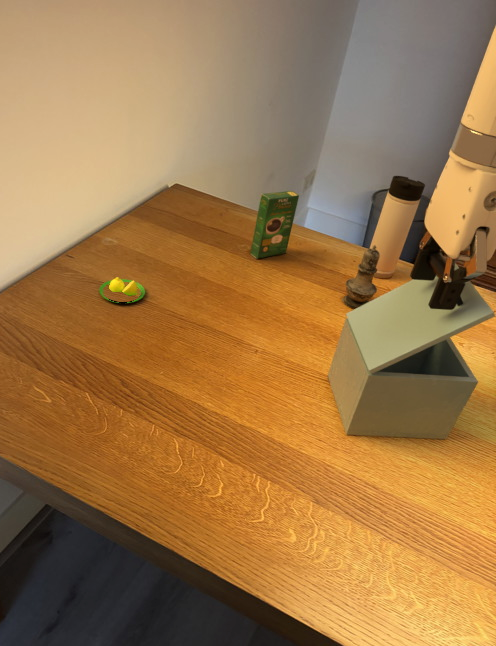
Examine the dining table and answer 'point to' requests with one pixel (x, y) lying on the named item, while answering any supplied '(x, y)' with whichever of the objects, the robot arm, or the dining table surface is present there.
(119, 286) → the plate with lemons
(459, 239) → the robot arm
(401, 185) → the travel mug
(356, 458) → the dining table surface
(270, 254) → the coffee box
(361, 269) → the chess piece figurine
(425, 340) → the lid
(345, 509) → the dining table surface
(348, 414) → the grey hinged box
